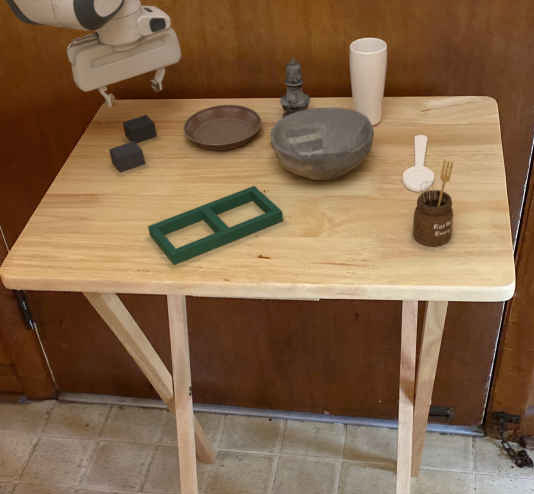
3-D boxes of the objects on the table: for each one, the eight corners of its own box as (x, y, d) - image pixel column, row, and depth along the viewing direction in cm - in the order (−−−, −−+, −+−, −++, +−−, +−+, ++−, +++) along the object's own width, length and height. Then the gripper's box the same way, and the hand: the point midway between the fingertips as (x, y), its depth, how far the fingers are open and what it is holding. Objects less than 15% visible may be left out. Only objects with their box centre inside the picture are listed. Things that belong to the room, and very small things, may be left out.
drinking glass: (388, 113, 157) (390, 38, 147) (382, 130, 153) (383, 54, 143) (353, 111, 159) (353, 36, 149) (346, 128, 154) (345, 52, 144)
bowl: (348, 133, 153) (348, 94, 147) (391, 179, 140) (392, 138, 135) (258, 157, 149) (255, 117, 144) (294, 206, 137) (291, 165, 131)
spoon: (436, 137, 149) (436, 134, 149) (433, 192, 136) (433, 189, 136) (406, 136, 150) (406, 134, 150) (401, 191, 137) (401, 188, 137)
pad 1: (133, 144, 156) (130, 130, 154) (125, 136, 159) (122, 122, 157) (157, 136, 158) (154, 122, 156) (148, 128, 160) (146, 114, 158)
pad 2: (120, 172, 149) (117, 158, 147) (112, 163, 152) (108, 149, 149) (145, 163, 150) (142, 149, 148) (136, 154, 153) (133, 140, 151)
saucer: (251, 158, 149) (250, 145, 147) (175, 154, 152) (173, 141, 150) (270, 118, 159) (269, 106, 158) (198, 115, 163) (196, 103, 161)
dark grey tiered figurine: (309, 124, 157) (306, 64, 149) (279, 123, 158) (274, 65, 150) (312, 109, 161) (310, 50, 153) (283, 109, 162) (279, 51, 154)
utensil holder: (405, 239, 128) (408, 173, 120) (427, 219, 131) (432, 154, 123) (437, 252, 125) (442, 186, 116) (459, 232, 128) (466, 166, 120)
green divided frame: (174, 265, 127) (172, 255, 126) (149, 235, 134) (147, 226, 132) (283, 221, 134) (282, 211, 132) (255, 195, 140) (254, 185, 139)
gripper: (70, 48, 138) (88, 121, 147) (178, 15, 145) (189, 87, 154) (57, 36, 142) (77, 108, 152) (163, 4, 149) (175, 75, 158)
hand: (134, 97), depth 153 cm, fingers open, 8 cm apart
